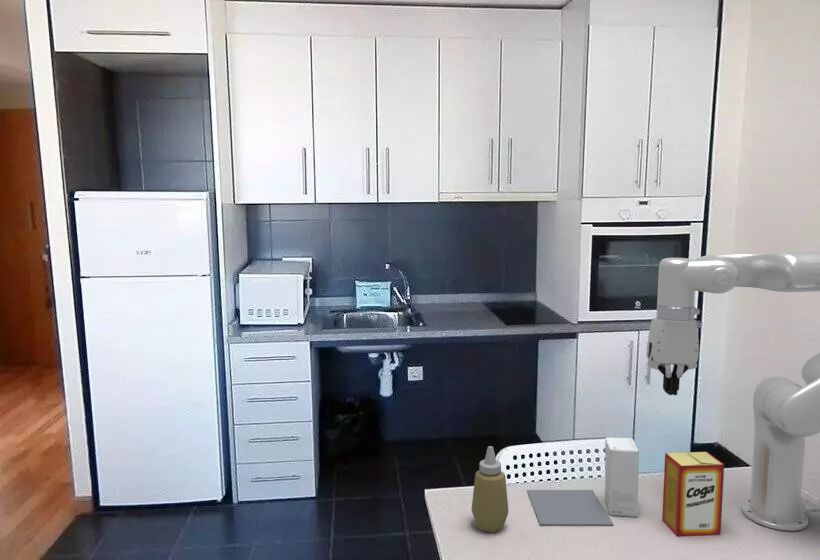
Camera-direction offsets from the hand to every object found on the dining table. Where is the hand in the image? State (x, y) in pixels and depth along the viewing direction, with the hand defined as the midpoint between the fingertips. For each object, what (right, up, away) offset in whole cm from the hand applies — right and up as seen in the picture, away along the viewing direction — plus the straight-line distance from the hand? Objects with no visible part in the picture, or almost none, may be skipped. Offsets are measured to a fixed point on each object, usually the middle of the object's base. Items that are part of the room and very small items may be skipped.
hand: (670, 393), depth 134 cm
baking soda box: (+2, -28, -5) cm, 29 cm away
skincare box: (-10, -27, +3) cm, 29 cm away
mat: (-22, -27, +4) cm, 35 cm away
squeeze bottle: (-41, -29, -4) cm, 50 cm away
